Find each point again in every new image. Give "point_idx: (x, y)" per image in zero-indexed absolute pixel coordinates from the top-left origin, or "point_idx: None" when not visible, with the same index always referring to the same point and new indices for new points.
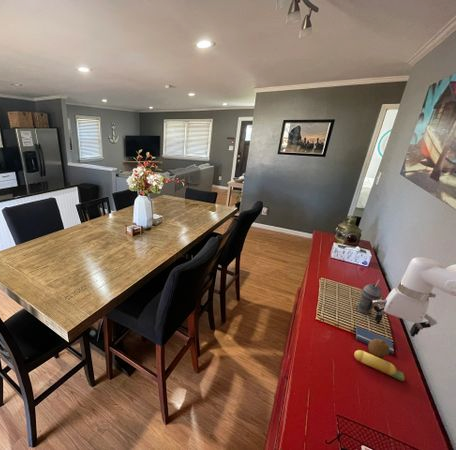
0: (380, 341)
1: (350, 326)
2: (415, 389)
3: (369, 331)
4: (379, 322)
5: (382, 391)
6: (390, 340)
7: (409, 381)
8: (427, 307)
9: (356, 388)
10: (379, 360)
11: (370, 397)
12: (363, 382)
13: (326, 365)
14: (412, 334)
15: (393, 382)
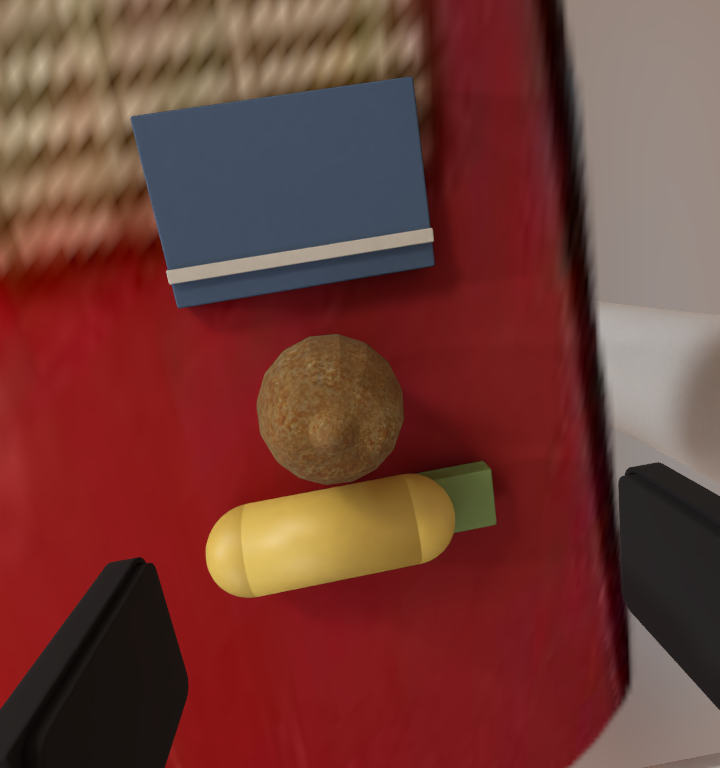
0: (320, 448)
1: (93, 140)
2: (543, 500)
3: (238, 105)
4: (171, 726)
5: (399, 659)
6: (404, 92)
7: (519, 460)
8: None
9: (292, 746)
10: (353, 565)
11: (356, 742)
12: (313, 680)
13: None
14: (656, 628)
15: None
